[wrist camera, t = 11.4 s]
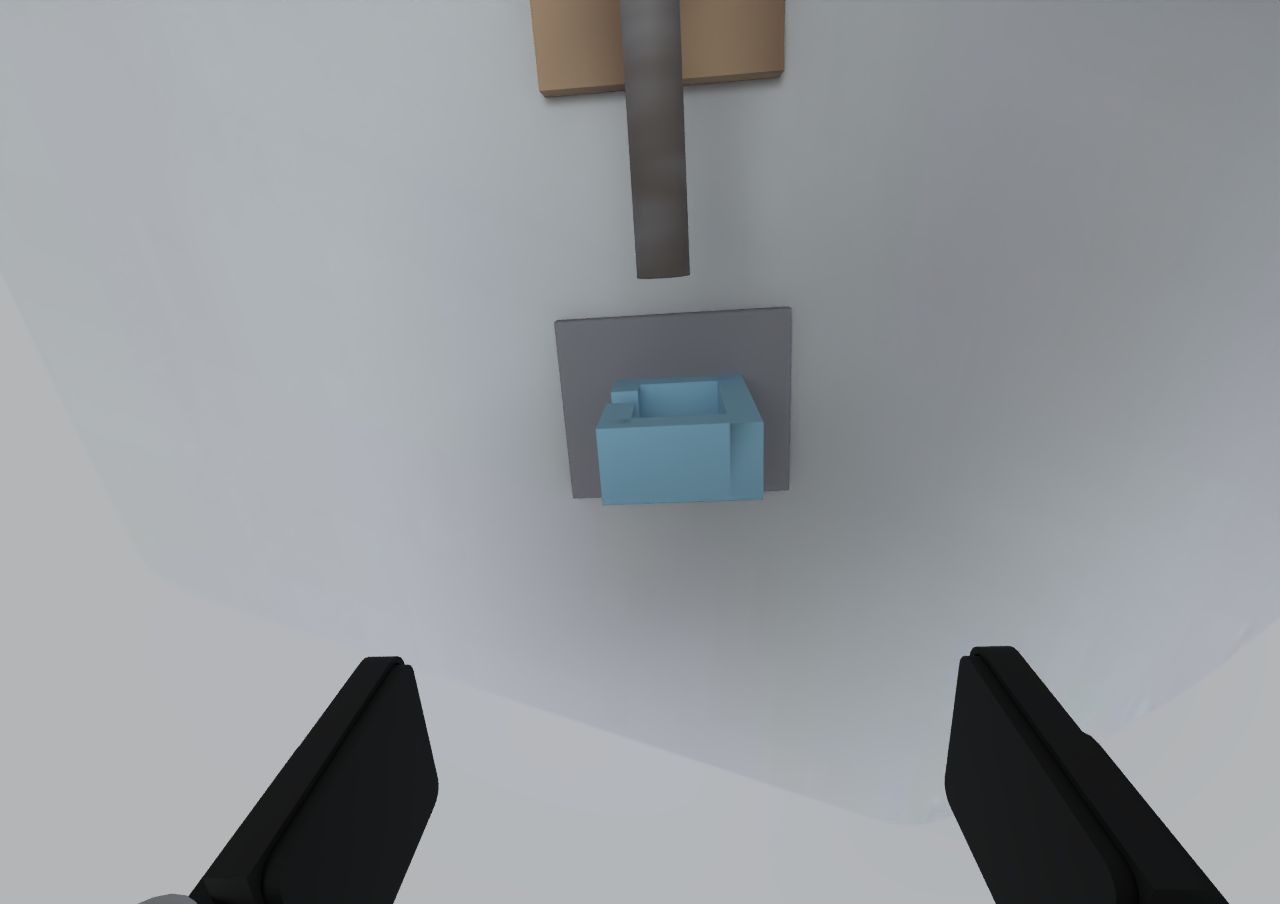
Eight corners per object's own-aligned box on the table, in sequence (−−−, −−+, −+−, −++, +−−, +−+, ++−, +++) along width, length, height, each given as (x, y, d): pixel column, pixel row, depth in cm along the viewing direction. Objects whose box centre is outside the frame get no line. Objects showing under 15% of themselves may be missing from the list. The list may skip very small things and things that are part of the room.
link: (741, 373, 30) (763, 421, 22) (742, 434, 31) (763, 499, 23) (615, 380, 30) (595, 429, 23) (620, 439, 31) (602, 505, 24)
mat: (788, 306, 29) (791, 308, 29) (786, 484, 32) (788, 490, 31) (557, 320, 30) (554, 322, 29) (575, 492, 33) (573, 498, 32)
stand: (781, -171, 24) (987, -966, 8) (778, 251, 29) (902, 272, 13) (521, -141, 24) (241, -818, 9) (562, 265, 29) (431, 301, 14)
